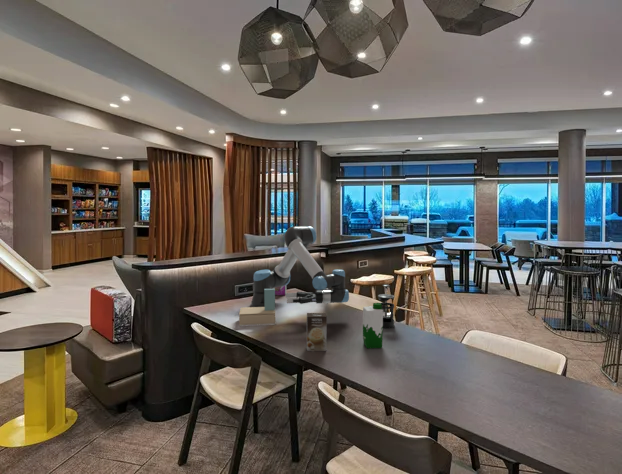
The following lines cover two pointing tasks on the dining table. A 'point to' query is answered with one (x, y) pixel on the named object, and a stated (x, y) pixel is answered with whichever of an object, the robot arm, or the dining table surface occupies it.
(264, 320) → the carton
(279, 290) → the candy bar box
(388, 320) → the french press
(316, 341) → the coffee box
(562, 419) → the dining table surface
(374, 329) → the milk carton
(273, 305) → the carton lid
